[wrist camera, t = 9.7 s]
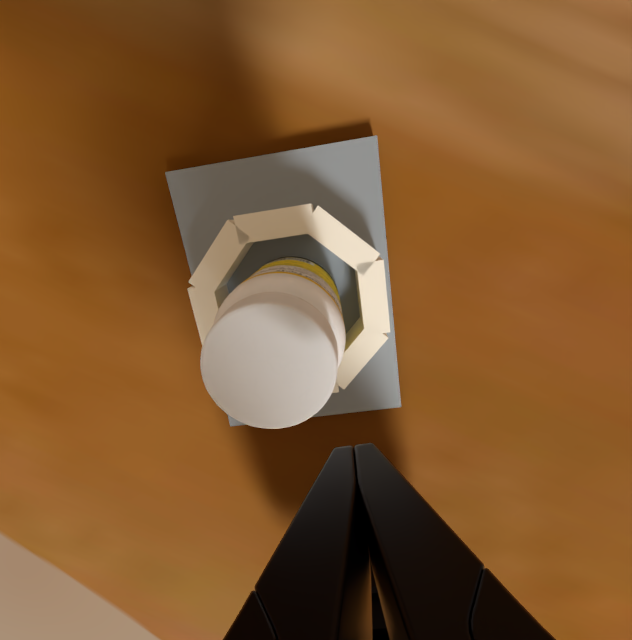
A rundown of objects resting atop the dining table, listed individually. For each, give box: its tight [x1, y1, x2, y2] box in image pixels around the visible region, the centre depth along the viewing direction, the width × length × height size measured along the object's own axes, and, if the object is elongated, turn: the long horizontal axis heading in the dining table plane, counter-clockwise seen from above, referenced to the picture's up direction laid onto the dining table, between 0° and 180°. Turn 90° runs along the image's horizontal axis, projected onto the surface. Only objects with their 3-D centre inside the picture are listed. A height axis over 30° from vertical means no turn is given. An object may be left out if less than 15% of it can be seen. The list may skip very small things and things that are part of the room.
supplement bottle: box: [200, 256, 346, 429], centre depth 14 cm, size 5×5×8 cm
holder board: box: [165, 135, 401, 426], centre depth 17 cm, size 14×10×3 cm
